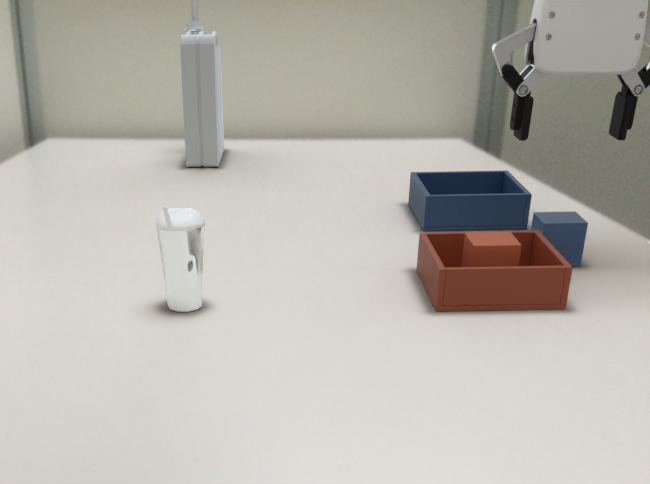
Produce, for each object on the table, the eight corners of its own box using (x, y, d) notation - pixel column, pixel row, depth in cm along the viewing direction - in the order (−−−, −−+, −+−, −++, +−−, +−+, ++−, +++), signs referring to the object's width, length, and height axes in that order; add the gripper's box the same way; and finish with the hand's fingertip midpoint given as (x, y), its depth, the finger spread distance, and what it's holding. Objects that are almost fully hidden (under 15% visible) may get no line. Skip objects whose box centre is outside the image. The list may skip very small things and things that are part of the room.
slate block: (568, 253, 105) (575, 211, 103) (580, 266, 102) (588, 222, 99) (527, 254, 105) (533, 212, 103) (537, 267, 102) (544, 223, 99)
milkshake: (149, 314, 91) (141, 205, 86) (173, 296, 96) (167, 191, 90) (192, 319, 90) (187, 209, 85) (215, 301, 94) (212, 195, 89)
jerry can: (194, 146, 156) (186, -33, 143) (225, 146, 156) (220, -34, 142) (184, 167, 144) (174, -27, 130) (217, 167, 143) (211, -28, 130)
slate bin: (503, 203, 124) (507, 170, 121) (527, 229, 113) (532, 194, 111) (408, 204, 124) (410, 172, 122) (423, 231, 113) (425, 196, 111)
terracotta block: (504, 276, 98) (510, 231, 95) (515, 291, 94) (521, 244, 91) (460, 277, 98) (464, 232, 95) (468, 292, 94) (474, 245, 91)
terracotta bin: (533, 268, 101) (538, 230, 99) (565, 309, 91) (572, 267, 89) (416, 270, 101) (419, 232, 99) (435, 311, 91) (439, 269, 89)
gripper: (682, -65, 90) (641, 130, 100) (497, -65, 90) (474, 131, 100) (715, -64, 84) (668, 145, 93) (516, -63, 84) (490, 145, 93)
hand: (568, 137), depth 97 cm, fingers open, 9 cm apart
